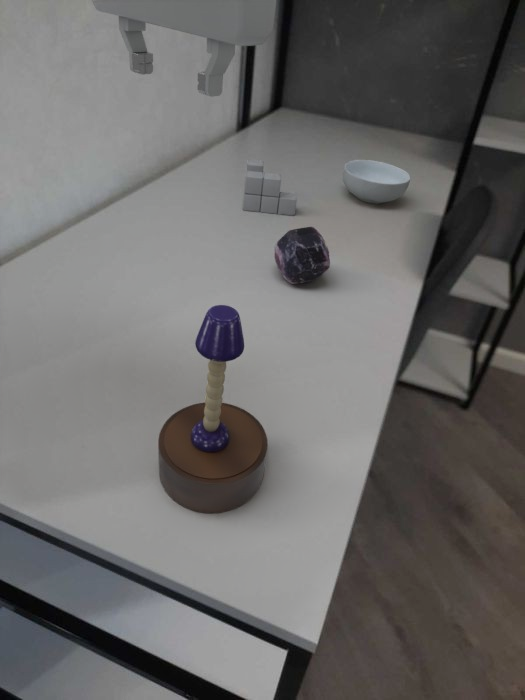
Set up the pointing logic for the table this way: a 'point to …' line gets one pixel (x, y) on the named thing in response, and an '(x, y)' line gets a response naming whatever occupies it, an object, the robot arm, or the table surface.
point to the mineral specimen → (302, 255)
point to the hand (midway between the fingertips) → (174, 83)
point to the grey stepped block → (266, 191)
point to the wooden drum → (212, 460)
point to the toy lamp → (216, 372)
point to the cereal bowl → (375, 180)
